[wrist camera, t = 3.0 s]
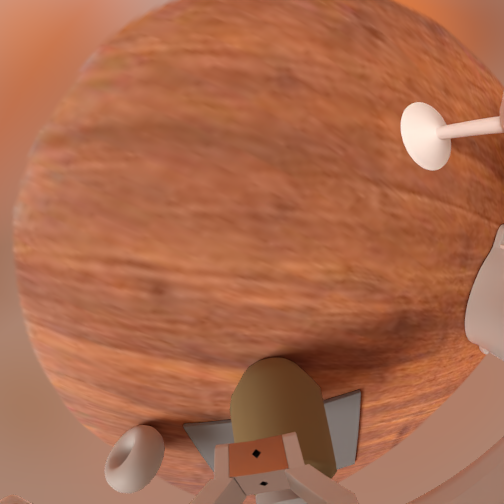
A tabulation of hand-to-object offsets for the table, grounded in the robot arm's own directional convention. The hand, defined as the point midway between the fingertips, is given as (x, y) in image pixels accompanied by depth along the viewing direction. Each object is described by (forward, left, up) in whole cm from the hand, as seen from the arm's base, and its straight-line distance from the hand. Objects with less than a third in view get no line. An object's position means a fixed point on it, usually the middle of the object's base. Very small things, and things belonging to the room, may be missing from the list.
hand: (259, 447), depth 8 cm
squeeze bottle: (0, +9, -15) cm, 17 cm away
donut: (+17, +15, -15) cm, 27 cm away
